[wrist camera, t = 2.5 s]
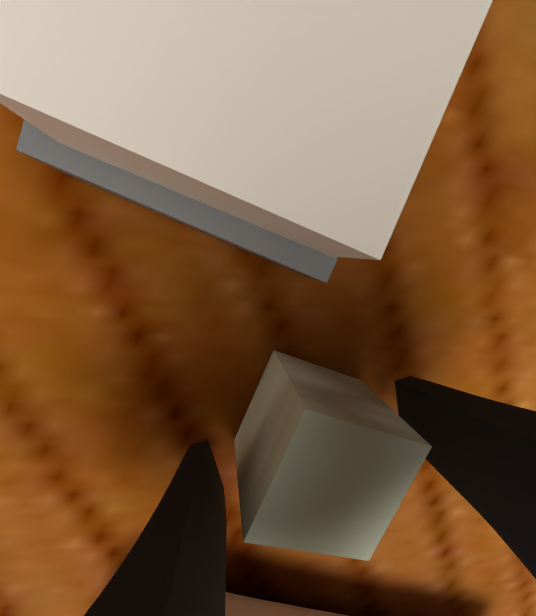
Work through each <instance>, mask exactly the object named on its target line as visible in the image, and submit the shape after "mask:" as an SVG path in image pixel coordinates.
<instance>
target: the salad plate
mask: <svg viewBox="0 0 536 616" xmlns="http://www.w3.org/2000/svg"><path fill="white" fill-rule="evenodd" d="M225 616H349V615H343V614H337V613H331V612H326V611H320V610H314V609H309V608H303V607H298V606H293V605H287V604H282V603H277V602H272V601H267V600H261V599H256V598H251V597H246V596H242V595H237V594H233V593H228V592H225Z"/></svg>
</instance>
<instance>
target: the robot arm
mask: <svg viewBox="0 0 536 616" xmlns="http://www.w3.org/2000/svg"><path fill="white" fill-rule="evenodd" d="M395 387H396V395H397V404H398V413H399V416H400V417H401V418H402V419H403V420H404V421H405V422H406V423H407V424H408V425H409V426H410V427H412V428H413V429H414V430H415V431H416V432H417V433H418V434H419V435H420V436H421V437H422V438H423V439H424V440H426V441H427V442H428V443H429V444H430V445H431V446H432V447H431V449H430V451H429V453H428V455H427V456H426V460H427V461H428V462H429V463H430V464H431V465H432V466H433V467H434V468H435V469H436V470H437V471H438V472H439V473H440V474H441V475H442V476H443V477H444V478H445V479H446V480H447V481H448V482H449V483H450V484H451V485H452V486H453V487H454V488H455V489H456V490H457V491H458V492H459V493H460V494H461V495H462V496H463V497H464V498H465V499H466V500H467V501H468V502H469V503H470V504H471V505H472V506H473V507H474V508H475V509H476V510H477V511H478V512H479V513H480V514H481V516H482V517H483V518H484V519H485V520H486V521H487V522H488V523H489V524H490V525H491V526H492V527H493V529H494V530H495V531H496V532H497V533H498V534H499V536H500V537H501V538H502V539H503V540H504V542H505V543H506V544H507V545H508V546H509V547H510V549H511V550H512V551H513V552H514V553H515V555H516V556H517V557H518V558H519V559H520V560H521V562H522V563H523V564H524V565H525V566H526V568H527V569H528V570H529V571H530V573H531V574H532V575H533V576H534V577H535V579H536V411H532V410H528V409H524V408H520V407H516V406H512V405H508V404H505V403H501V402H497V401H493V400H490V399H486V398H483V397H479V396H476V395H472V394H469V393H466V392H462V391H459V390H456V389H453V388H449V387H446V386H443V385H440V384H436V383H433V382H430V381H426V380H423V379H419V378H415V377H411V376H409V377H406V378H402V379H399V380H396V381H395ZM225 591H226V508H225V497H224V487H223V484H222V481H221V478H220V475H219V472H218V469H217V466H216V463H215V460H214V457H213V453H212V450H211V447H210V444H209V441H208V440H205V441H202V442H199V443H196V444H193V445H190V446H189V448H188V450H187V452H186V454H185V456H184V458H183V460H182V462H181V463H180V465H179V467H178V469H177V471H176V473H175V475H174V477H173V479H172V481H171V483H170V485H169V486H168V488H167V490H166V492H165V494H164V496H163V497H162V499H161V501H160V503H159V505H158V506H157V508H156V510H155V512H154V513H153V515H152V517H151V518H150V520H149V522H148V523H147V525H146V527H145V528H144V530H143V532H142V533H141V535H140V537H139V538H138V540H137V541H136V543H135V545H134V546H133V548H132V549H131V551H130V552H129V554H128V555H127V557H126V558H125V560H124V561H123V563H122V564H121V566H120V567H119V569H118V570H117V572H116V573H115V574H114V576H113V577H112V579H111V580H110V582H109V583H108V584H107V586H106V587H105V589H104V590H103V591H102V593H101V594H100V595H99V597H98V598H97V599H96V601H95V602H94V603H93V605H92V606H91V607H90V608H89V610H88V611H87V612H86V614H85V615H84V616H225Z"/></svg>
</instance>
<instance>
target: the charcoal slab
mask: <svg viewBox="0 0 536 616" xmlns="http://www.w3.org/2000/svg"><path fill="white" fill-rule="evenodd" d="M16 150H17V151H20V152H22V153H24V154H26V155H28V156H30V157H32V158H34V159H36V160H38V161H40V162H42V163H44V164H46V165H48V166H50V167H52V168H54V169H57V170H59V171H61V172H63V173H65V174H67V175H69V176H72V177H74V178H76V179H79V180H81V181H83V182H86V183H88V184H90V185H93V186H95V187H97V188H100V189H102V190H104V191H107V192H109V193H111V194H114V195H116V196H119V197H121V198H123V199H126V200H128V201H130V202H133V203H135V204H137V205H140V206H142V207H144V208H147V209H149V210H151V211H154V212H156V213H158V214H161V215H163V216H165V217H168V218H170V219H172V220H175V221H177V222H179V223H182V224H184V225H187V226H189V227H191V228H194V229H196V230H198V231H201V232H203V233H205V234H208V235H210V236H212V237H215V238H217V239H219V240H222V241H224V242H226V243H229V244H231V245H233V246H236V247H238V248H240V249H243V250H245V251H248V252H250V253H252V254H255V255H257V256H259V257H262V258H264V259H266V260H269V261H271V262H273V263H276V264H278V265H280V266H283V267H285V268H287V269H290V270H292V271H294V272H297V273H299V274H301V275H304V276H306V277H310V278H313V279H316V280H319V281H322V282H325V283H327V282H328V280H329V277H330V275H331V273H332V271H333V268H334V266H335V264H336V262H337V259H338V257H333V256H328V255H326V254H323V253H321V252H319V251H316V250H314V249H311V248H309V247H307V246H304V245H302V244H299V243H297V242H295V241H292V240H290V239H287V238H285V237H283V236H280V235H278V234H275V233H273V232H271V231H268V230H266V229H264V228H261V227H259V226H256V225H254V224H252V223H249V222H247V221H244V220H242V219H240V218H237V217H235V216H232V215H230V214H228V213H225V212H223V211H221V210H218V209H216V208H213V207H211V206H209V205H206V204H204V203H201V202H199V201H197V200H194V199H192V198H189V197H187V196H185V195H182V194H180V193H178V192H175V191H173V190H170V189H168V188H166V187H163V186H161V185H158V184H156V183H154V182H151V181H149V180H146V179H144V178H142V177H139V176H137V175H134V174H132V173H130V172H127V171H125V170H123V169H120V168H118V167H115V166H113V165H111V164H108V163H106V162H103V161H101V160H99V159H96V158H94V157H91V156H89V155H87V154H84V153H82V152H80V151H77V150H75V149H72V148H70V147H68V146H65V145H63V144H60V143H59V142H57V141H56V140H54V139H53V138H51V137H50V136H48V135H47V134H45V133H44V132H42V131H41V130H39V129H38V128H36V127H35V126H33V125H32V124H30V123H29V122H27V121H26V120H24V122H23V126H22V129H21V133H20V137H19V141H18V145H17V148H16Z"/></svg>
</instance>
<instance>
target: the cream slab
mask: <svg viewBox="0 0 536 616" xmlns="http://www.w3.org/2000/svg"><path fill="white" fill-rule="evenodd" d="M492 1H493V0H0V103H1V104H2V105H4V106H5V107H7V108H8V109H10V110H11V111H13V112H14V113H16V114H17V115H18V116H20V117H21V118H23V119H24V120H26V121H27V122H29V123H30V124H32V125H33V126H35V127H36V128H38V129H39V130H41V131H42V132H44V133H45V134H47V135H48V136H50V137H51V138H53V139H54V140H56V141H57V142H59V143H60V144H63V145H65V146H68V147H70V148H72V149H75V150H77V151H80V152H82V153H84V154H87V155H89V156H91V157H94V158H96V159H99V160H101V161H103V162H106V163H108V164H111V165H113V166H115V167H118V168H120V169H123V170H125V171H127V172H130V173H132V174H134V175H137V176H139V177H142V178H144V179H146V180H149V181H151V182H154V183H156V184H158V185H161V186H163V187H166V188H168V189H170V190H173V191H175V192H178V193H180V194H182V195H185V196H187V197H189V198H192V199H194V200H197V201H199V202H201V203H204V204H206V205H209V206H211V207H213V208H216V209H218V210H221V211H223V212H225V213H228V214H230V215H232V216H235V217H237V218H240V219H242V220H244V221H247V222H249V223H252V224H254V225H256V226H259V227H261V228H264V229H266V230H268V231H271V232H273V233H275V234H278V235H280V236H283V237H285V238H287V239H290V240H292V241H295V242H297V243H299V244H302V245H304V246H307V247H309V248H311V249H314V250H316V251H319V252H321V253H323V254H326V255H328V256H333V257H345V258H358V259H371V260H381V258H382V256H383V253H384V251H385V249H386V246H387V244H388V242H389V240H390V237H391V235H392V233H393V230H394V228H395V226H396V223H397V221H398V219H399V216H400V214H401V212H402V209H403V207H404V205H405V202H406V200H407V198H408V195H409V193H410V191H411V189H412V186H413V184H414V182H415V179H416V177H417V175H418V172H419V170H420V168H421V165H422V163H423V161H424V158H425V156H426V154H427V151H428V149H429V147H430V144H431V142H432V140H433V138H434V135H435V133H436V131H437V128H438V126H439V124H440V121H441V119H442V117H443V114H444V112H445V110H446V107H447V105H448V103H449V100H450V98H451V96H452V94H453V91H454V89H455V87H456V84H457V82H458V80H459V77H460V75H461V73H462V70H463V68H464V66H465V63H466V61H467V59H468V56H469V54H470V52H471V49H472V47H473V45H474V43H475V40H476V38H477V36H478V33H479V31H480V29H481V26H482V24H483V22H484V19H485V17H486V15H487V12H488V10H489V8H490V5H491V3H492Z"/></svg>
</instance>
